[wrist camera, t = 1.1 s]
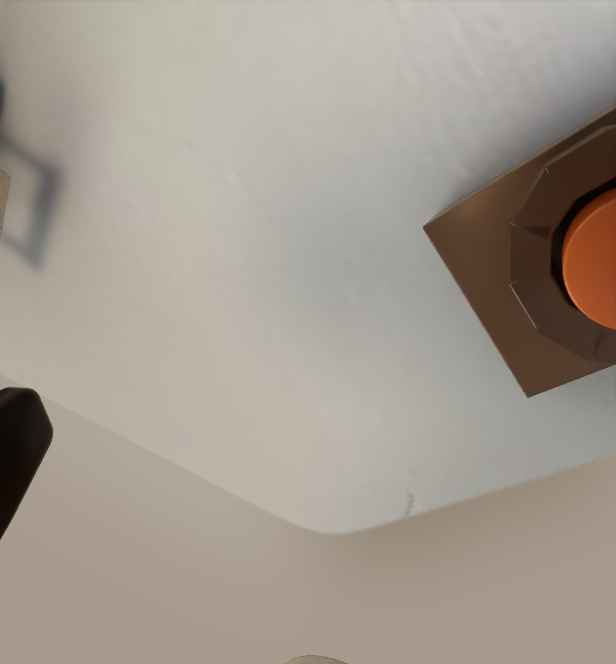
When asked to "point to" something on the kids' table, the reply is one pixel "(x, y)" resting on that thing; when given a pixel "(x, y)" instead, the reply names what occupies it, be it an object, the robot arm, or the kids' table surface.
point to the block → (533, 256)
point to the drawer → (3, 194)
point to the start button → (593, 259)
